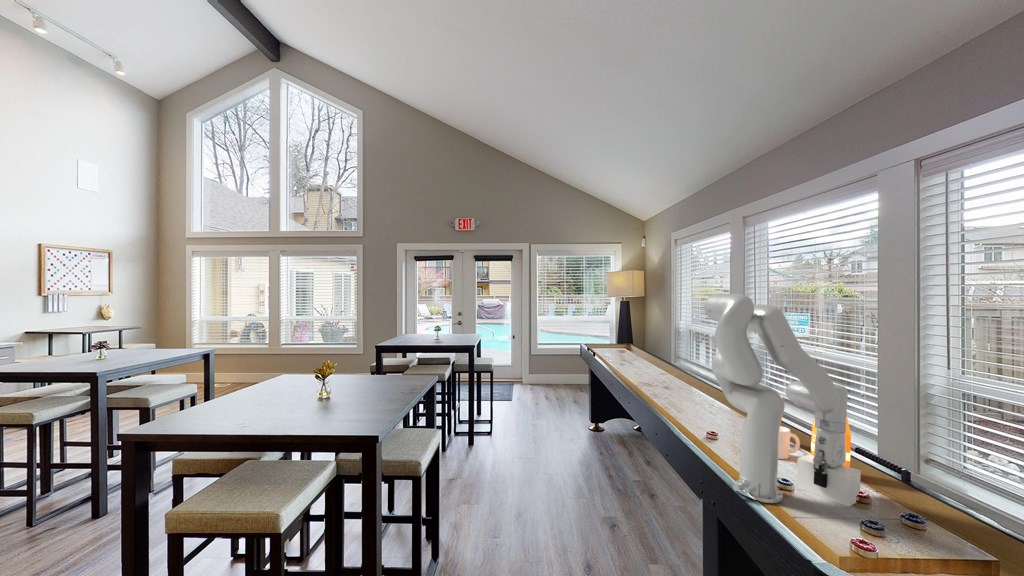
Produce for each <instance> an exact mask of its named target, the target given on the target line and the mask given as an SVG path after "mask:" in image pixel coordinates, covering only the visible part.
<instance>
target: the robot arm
mask: <svg viewBox="0 0 1024 576" xmlns="http://www.w3.org/2000/svg"><path fill="white" fill-rule="evenodd" d="M703 310H704V312H705V314H706V316H707V317H708V318H709V319H711V320H712V321H716V322H718V323H717V325H716V329H715V331H714V343H715V345H716V348H717V350H718V351H717V352H716V353H715V354H714V356H713V357H712V360H711V369H712V370H711V371H712V373H713V376H714V378H715V379H716V381H717V384H718V385H719V386H720V388H721V391H722V393H723V394H724V397H725V398H726V400H727V401H728V403H729V404H730V405H731V406H733V407H734V408H736V409H738V410H739V411H742V412H744V413H746V414H747V415H746V418H745V419H744V421H743V424H742V426H741V434H740V438H741V439H740V455H739V456H740V458H739V479H736V480H735V481H734V482H736V483H737V484H734V485H733V484H732V489H733V491H734V492H736V491H740V490H745V492H746V493H749V494H750V495H751V496H753V497H754V498H756V499H757V500H758V501H757V502H759V501H760V502H761V503H766V504H777V503H778V504H779V503H781V502H782V501H783V500H784V497H783V496H784V495H783V493H782V492H781V491H780V490H779V489H777V486H778V485H777V484H778V469H779V459H778V450H779V431H780V426H781V423H782V419H783V416H784V412H785V401H784V398H783V396H782V395H781V394H780V392H778V391H777V390H776V389H773V388H772V387H770V386H767V385H764V384H760V383H761V382H762V380H763V378H764V370H763V366H762V365H761V363H760V361H759V359H758V357H757V355H756V353H755V351H754V348H753V347H752V345H751V342H750V341H749V338H748V334H747V333H748V332H752V333H753V332H754V333H757V335H758V337H759V339H760V340H761V342H762V345H763V346H764V349H765V350H766V351H767V353H768V356H769V358H770V359H771V360H772V361H773V362H774V363H775V364H777V365H778V366H779V367H781V368H782V369H784V370H785V371H786V372H789V373H791V374H792V375H793V376H794V377H796V378H797V379H798V380H796V381H795V380H794V381H792V382H790V383H788V384H787V386H786V388H785V396H786V398H787V399H788V400H789V401H790V402H791V403H793V404H794V405H796V406H800V407H802V408H805V409H808V410H812V411H814V412H815V413H814V418H815V428H816V429H817V431H816V438H815V447H814V459H813V462H814V484H815V485H818V486H821V487H824V488H827V476H828V474H826V472H827V469H828V466H830V467H831V468H834V467H837V466H839V465H842V464H844V463H845V461H846V442H845V434H846V420H847V418H848V415H847V414H848V394H849V392H848V389H847V387H846V386H843V385H842V384H841V385H840V384H837V383H834V382H833V380H832V378H831V377H830V375H829V374H828V373H827V371H826V370H825V369H824V368H823V367H822V366H821V365H820V364H819V363H818V362H817V361H816V360H815V359H814V358H813V357H812V356H811V355H810V354H808V352H806V351H805V350H804V349H803V348H802V346H801V344H800V342H799V340H798V339H797V336H796V335H795V333H794V331H793V329H792V327H791V325H790V323H789V322H788V320H787V317H786V316H785V314H784V313H783V311H782V310H781V309H780V308H778V307H777V306H774V305H767V304H765V305H764V304H754V301H753V300H752V299H751V298H750V297H749V296H747V295H746V294H742V293H714V294H712V295H710V296H708V297H707V298H706V299H705V300H704V304H703ZM824 462H826V463H824ZM822 465H823V466H824V468H823V467H822Z"/></svg>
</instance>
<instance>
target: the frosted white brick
mask: <svg viewBox="0 0 1024 576" xmlns="http://www.w3.org/2000/svg"><path fill="white" fill-rule="evenodd" d="M813 459H814V456H813V455H811V453H809V454H807V455H804V456H801V457H798V458H797V468H796V471H797V472H796V485H795V487H796V488H798V489H800V490H803V491H806V492H808V493H811V494H814V495H816V496H820V497H822V498H824V499H827V500H829V501H832V502H834V503H837V504H840V505H843V506H845V507H848V508H850V507H852V505H855V504H857V502H856V496H857V494H858V493H859V492H860V493H861V475H862V474H861V473H862V470H860V469H858V468H854V467H848V466H845V465H839V466H837V467H834V468H831V467H830V466H828V469H827V472H826V474H828V476H827V488H824V487H821V486H818V485H815V484H814V462H813ZM824 463H826V462H824ZM822 467H823V468H824V466H823V465H822Z"/></svg>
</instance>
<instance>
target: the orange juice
mask: <svg viewBox="0 0 1024 576" xmlns="http://www.w3.org/2000/svg"><path fill="white" fill-rule="evenodd" d="M848 419H849V418H848V417H847V420H846V434H845V442H846V461H845V463H844V464H842V465H845V466H848V467H850V466H851V449H852V448H851V446H852V445H851V444H852V434H851V427H850V424H849V420H848ZM816 431H817V429H816V428H815V417H814V418H813V422H812V424H811V441H810V442H811V443H810V455H813V456H814V447H815V438H816Z"/></svg>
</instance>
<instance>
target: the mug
mask: <svg viewBox="0 0 1024 576" xmlns="http://www.w3.org/2000/svg"><path fill="white" fill-rule="evenodd" d="M791 438H793V439H794V441H795V444H794V445H795V446H794V447H793V448H790V446H791ZM800 447H801V441H800V438H799V437H798V435H796V433H793V432H791V429H790V428H788V427H785V426H782V425H780V431H779V450H778V460H780V459H786V460H788V459H789V458H790V454H794V453H796V452H797V451H798V450H799V449H800Z"/></svg>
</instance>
